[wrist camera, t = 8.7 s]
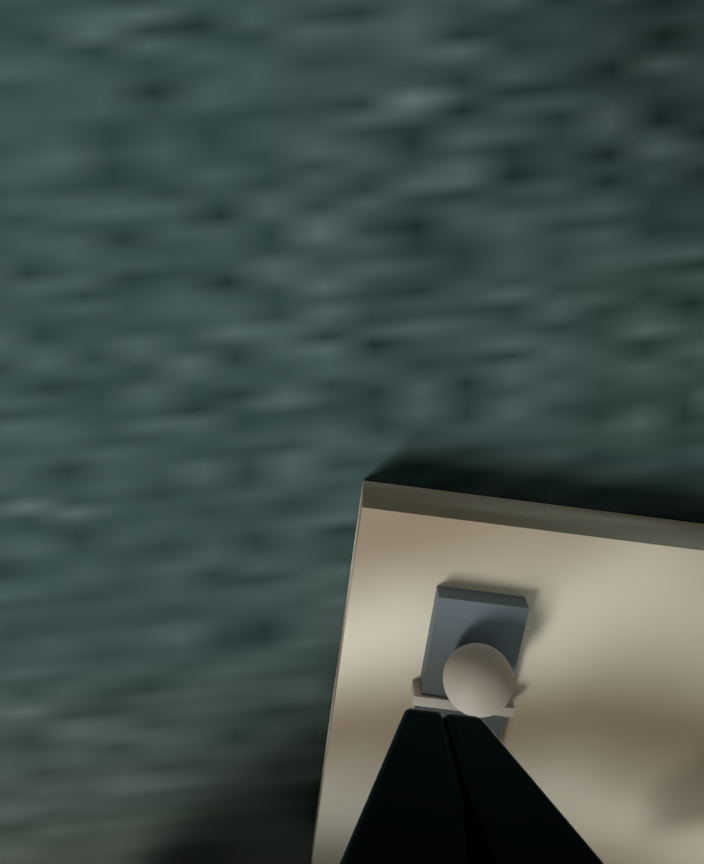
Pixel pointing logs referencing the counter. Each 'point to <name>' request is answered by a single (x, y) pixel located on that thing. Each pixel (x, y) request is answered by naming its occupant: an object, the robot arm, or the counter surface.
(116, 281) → the counter surface
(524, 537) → the latch board
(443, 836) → the robot arm
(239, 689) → the counter surface
